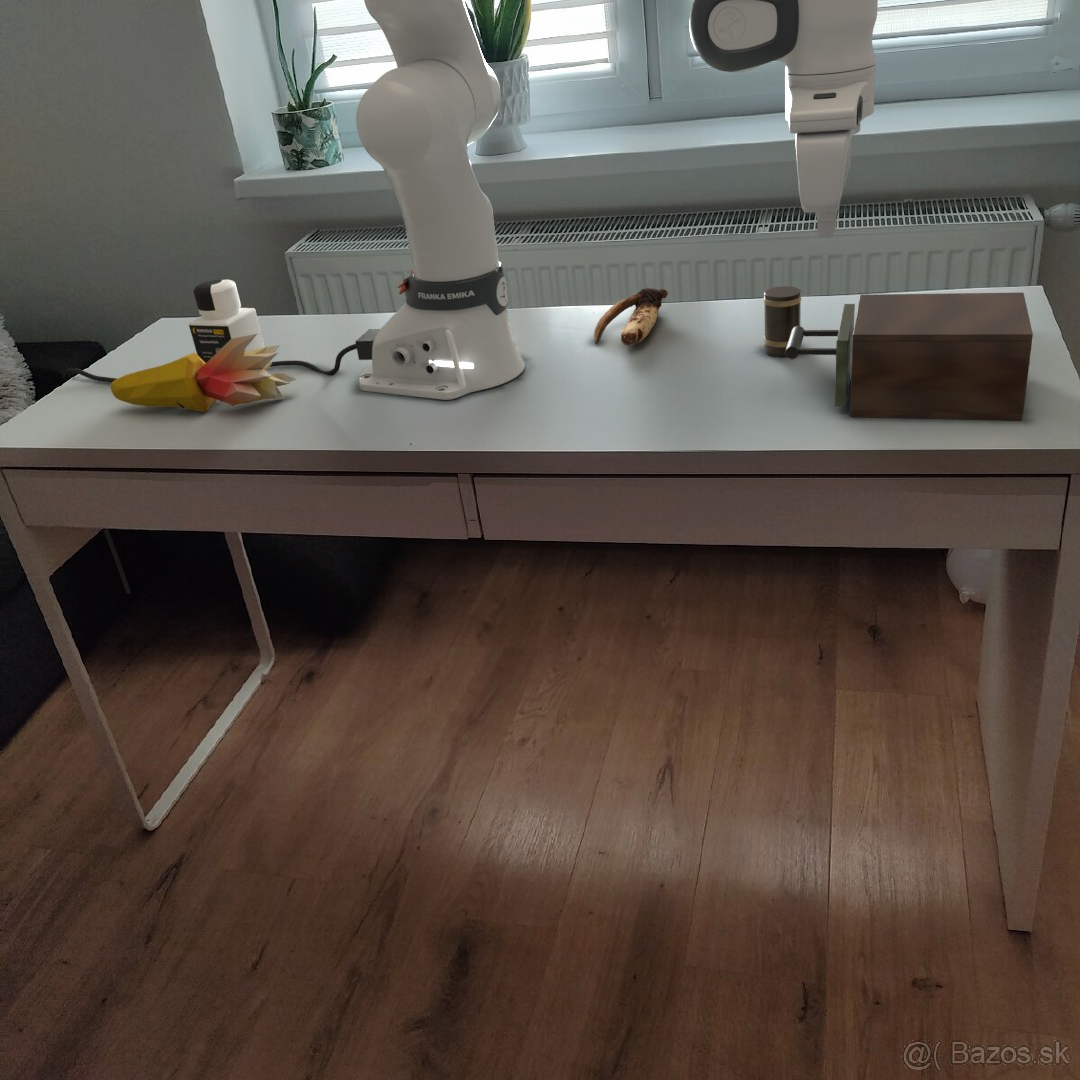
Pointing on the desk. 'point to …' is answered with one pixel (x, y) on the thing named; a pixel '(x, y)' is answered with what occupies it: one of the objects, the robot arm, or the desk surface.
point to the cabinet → (941, 356)
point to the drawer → (830, 350)
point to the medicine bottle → (222, 319)
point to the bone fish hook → (634, 315)
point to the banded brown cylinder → (780, 317)
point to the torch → (205, 379)
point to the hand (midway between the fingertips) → (826, 234)
